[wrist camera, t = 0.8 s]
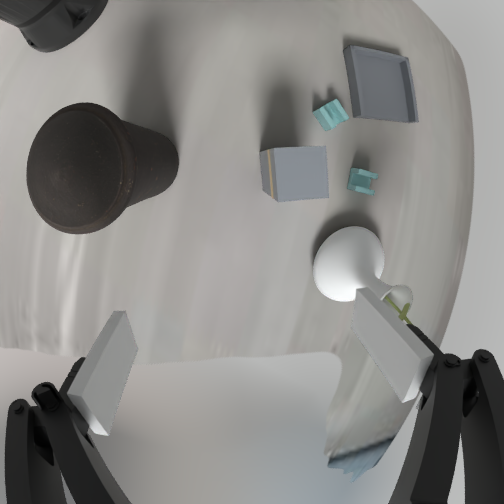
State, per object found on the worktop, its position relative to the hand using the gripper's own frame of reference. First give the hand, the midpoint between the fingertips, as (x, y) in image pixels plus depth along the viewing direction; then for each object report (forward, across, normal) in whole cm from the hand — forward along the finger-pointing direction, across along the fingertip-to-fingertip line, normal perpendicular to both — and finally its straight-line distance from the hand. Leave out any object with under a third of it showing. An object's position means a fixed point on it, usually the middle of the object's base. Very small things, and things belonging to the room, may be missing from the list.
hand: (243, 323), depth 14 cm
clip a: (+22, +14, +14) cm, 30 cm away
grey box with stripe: (+22, +7, +7) cm, 24 cm away
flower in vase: (+22, +16, -7) cm, 28 cm away
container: (+22, -10, +10) cm, 26 cm away
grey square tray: (+22, +22, +20) cm, 37 cm away
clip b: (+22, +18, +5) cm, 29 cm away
